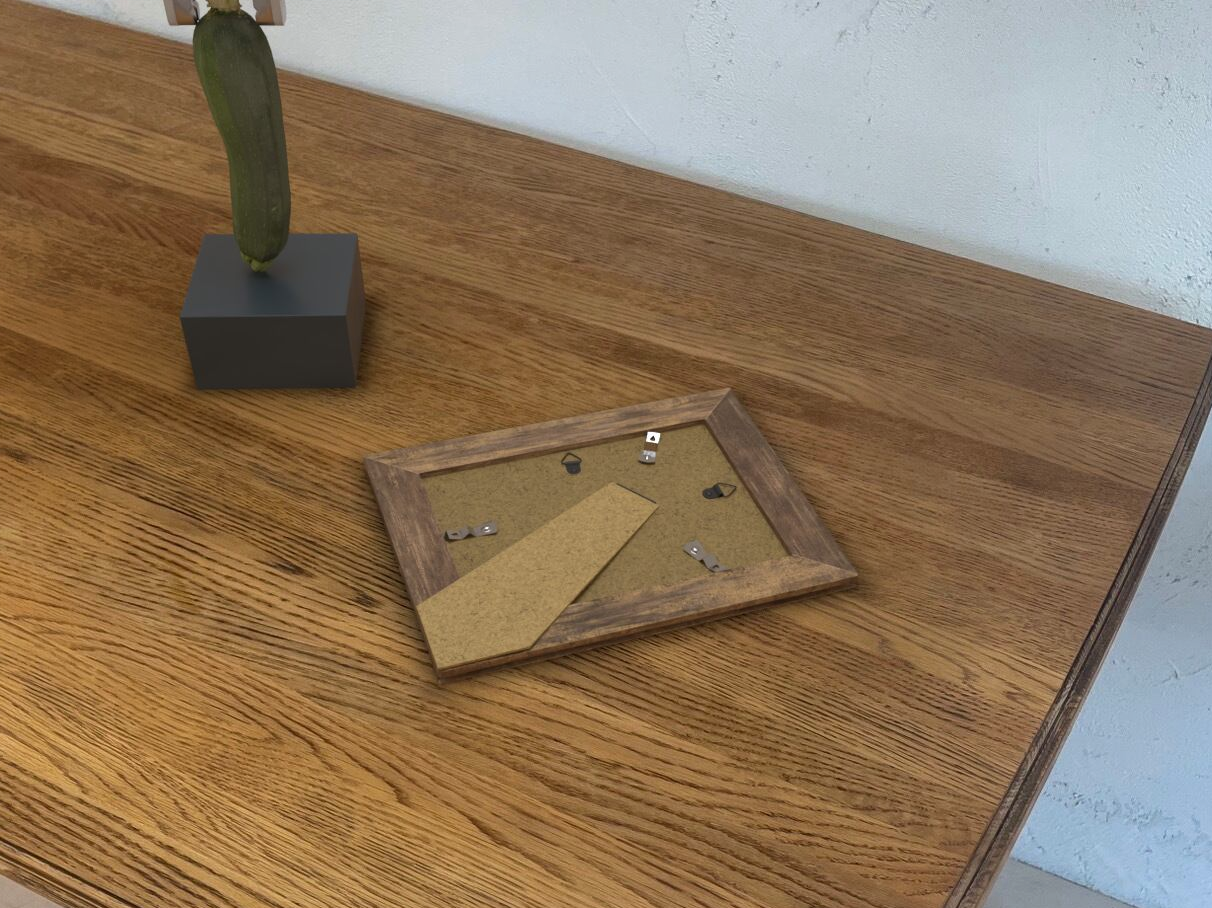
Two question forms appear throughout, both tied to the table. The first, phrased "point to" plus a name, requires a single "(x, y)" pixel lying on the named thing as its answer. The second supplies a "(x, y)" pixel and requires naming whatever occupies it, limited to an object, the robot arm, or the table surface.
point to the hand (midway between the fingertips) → (228, 22)
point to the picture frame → (597, 531)
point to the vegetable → (247, 126)
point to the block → (276, 315)
